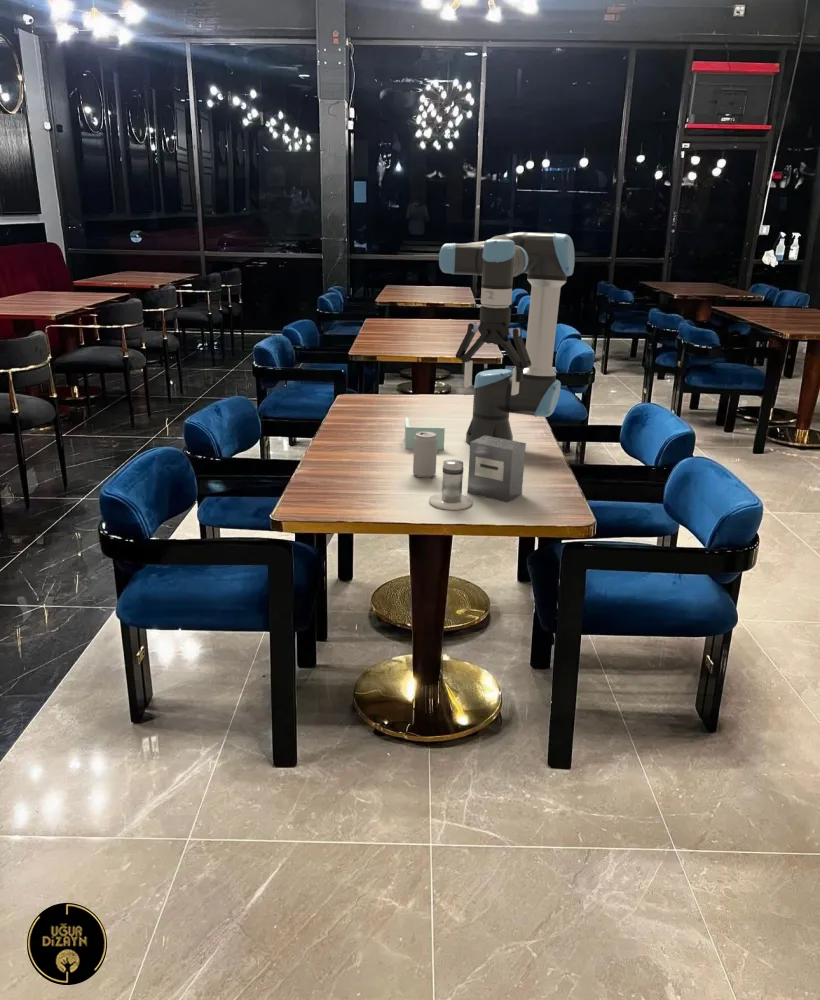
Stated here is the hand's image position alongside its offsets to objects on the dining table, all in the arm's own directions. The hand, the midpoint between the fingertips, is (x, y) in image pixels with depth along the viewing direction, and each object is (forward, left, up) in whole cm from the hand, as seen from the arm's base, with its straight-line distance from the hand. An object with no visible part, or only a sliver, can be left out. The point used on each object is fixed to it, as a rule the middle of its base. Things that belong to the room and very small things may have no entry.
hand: (490, 390), depth 200 cm
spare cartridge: (+14, -2, -26) cm, 30 cm away
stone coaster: (+14, -2, -27) cm, 31 cm away
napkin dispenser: (+1, +4, -27) cm, 27 cm away
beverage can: (-1, -19, -27) cm, 33 cm away
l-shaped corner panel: (-28, -36, -28) cm, 53 cm away
